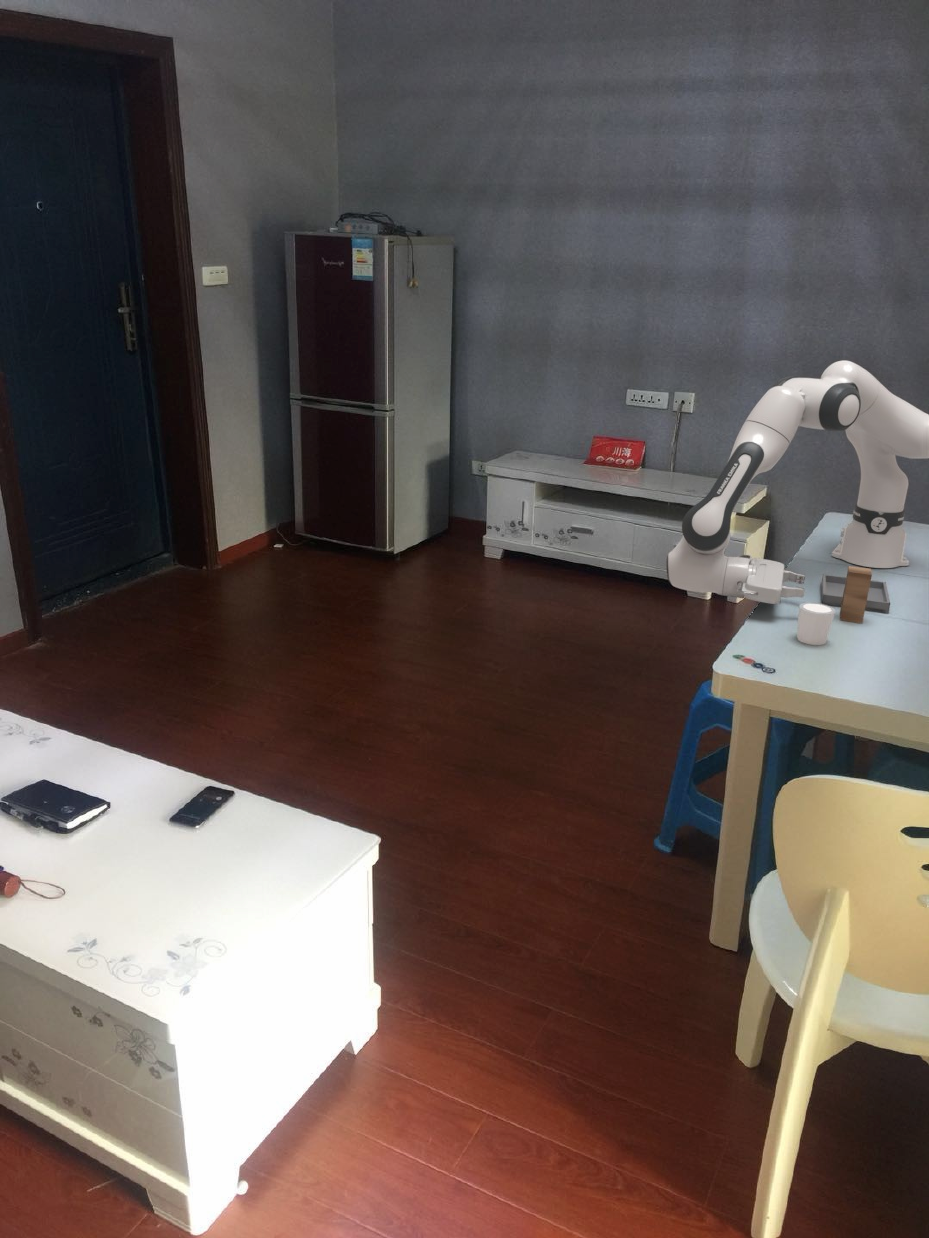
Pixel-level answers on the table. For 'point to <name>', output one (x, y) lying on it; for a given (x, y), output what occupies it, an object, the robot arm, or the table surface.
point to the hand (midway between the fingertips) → (804, 586)
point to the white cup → (814, 623)
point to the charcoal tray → (835, 588)
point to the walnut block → (855, 594)
